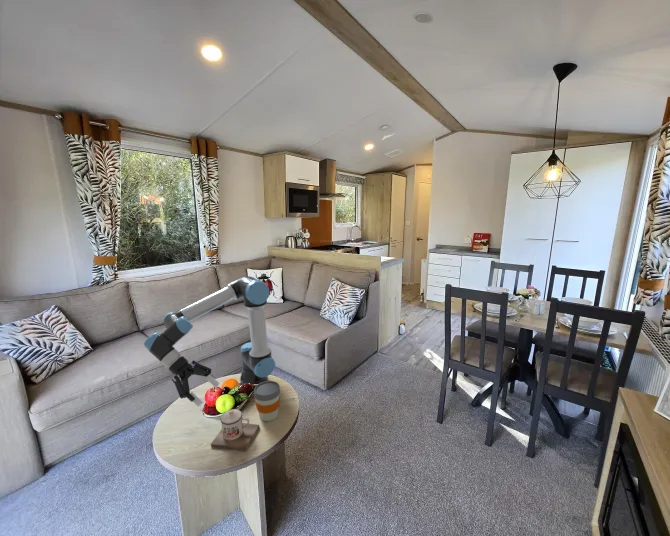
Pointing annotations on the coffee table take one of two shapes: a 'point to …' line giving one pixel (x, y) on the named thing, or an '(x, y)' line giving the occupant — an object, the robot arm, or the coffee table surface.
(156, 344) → the robot arm
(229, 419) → the teacup with lid
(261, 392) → the reusable coffee cup
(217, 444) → the walnut board
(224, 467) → the coffee table surface
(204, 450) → the coffee table surface
